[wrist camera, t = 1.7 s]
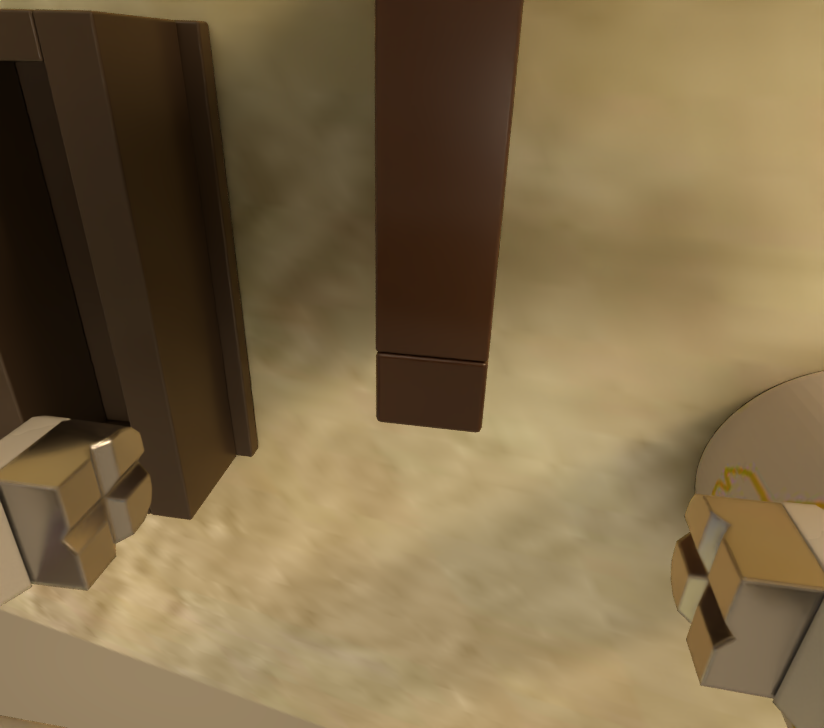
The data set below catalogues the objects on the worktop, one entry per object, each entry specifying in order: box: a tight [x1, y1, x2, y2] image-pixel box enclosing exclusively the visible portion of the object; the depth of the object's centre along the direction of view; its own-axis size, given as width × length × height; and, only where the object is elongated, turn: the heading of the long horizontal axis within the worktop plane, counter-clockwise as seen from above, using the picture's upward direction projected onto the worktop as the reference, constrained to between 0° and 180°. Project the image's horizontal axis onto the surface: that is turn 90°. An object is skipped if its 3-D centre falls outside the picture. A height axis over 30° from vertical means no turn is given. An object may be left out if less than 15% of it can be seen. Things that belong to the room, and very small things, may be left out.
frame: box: [375, 0, 524, 432], centre depth 12 cm, size 2×10×8 cm, turn 179°
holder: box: [0, 9, 258, 520], centre depth 18 cm, size 8×14×4 cm, turn 179°
